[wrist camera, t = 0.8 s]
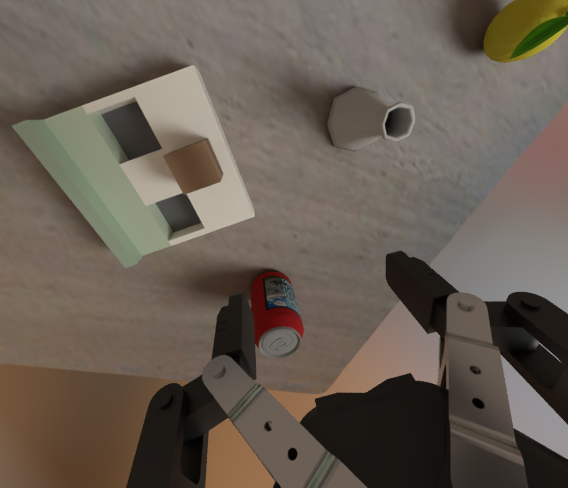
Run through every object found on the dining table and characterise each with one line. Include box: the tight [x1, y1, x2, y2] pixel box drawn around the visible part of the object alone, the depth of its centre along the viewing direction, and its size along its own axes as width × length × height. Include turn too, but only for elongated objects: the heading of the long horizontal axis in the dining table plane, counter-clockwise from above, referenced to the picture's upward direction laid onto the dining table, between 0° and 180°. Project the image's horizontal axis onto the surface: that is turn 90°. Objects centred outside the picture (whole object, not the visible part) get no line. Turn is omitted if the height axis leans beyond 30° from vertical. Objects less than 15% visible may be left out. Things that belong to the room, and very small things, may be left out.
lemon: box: [484, 0, 568, 63], centre depth 24 cm, size 7×6×10 cm
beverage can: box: [251, 271, 304, 359], centre depth 35 cm, size 7×7×12 cm
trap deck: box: [12, 65, 255, 268], centre depth 27 cm, size 17×16×5 cm
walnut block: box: [163, 138, 223, 195], centre depth 25 cm, size 4×4×4 cm
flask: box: [327, 87, 415, 151], centre depth 26 cm, size 7×7×10 cm
